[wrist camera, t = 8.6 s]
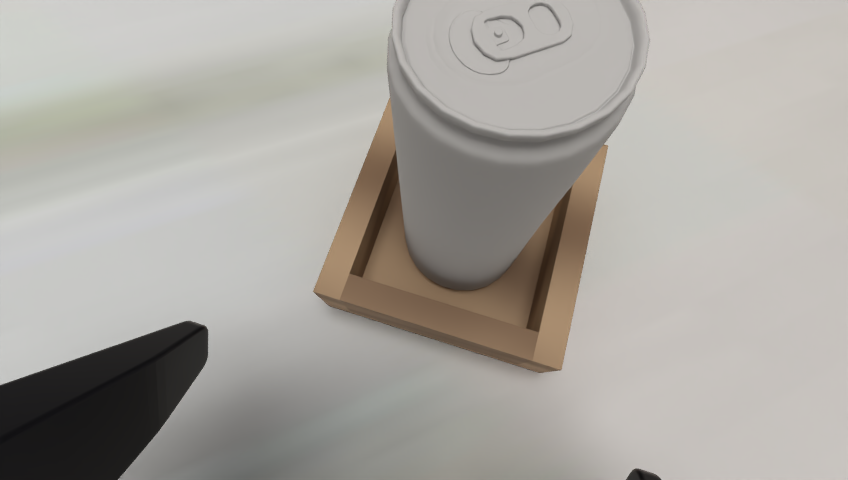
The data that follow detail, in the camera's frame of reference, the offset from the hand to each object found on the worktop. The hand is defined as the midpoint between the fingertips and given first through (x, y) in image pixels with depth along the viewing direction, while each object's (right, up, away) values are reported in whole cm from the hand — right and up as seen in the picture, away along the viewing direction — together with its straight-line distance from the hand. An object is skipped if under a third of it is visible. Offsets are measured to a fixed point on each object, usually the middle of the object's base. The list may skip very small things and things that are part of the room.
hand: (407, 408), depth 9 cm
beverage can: (+2, +3, +10) cm, 11 cm away
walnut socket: (+2, +3, +11) cm, 11 cm away
